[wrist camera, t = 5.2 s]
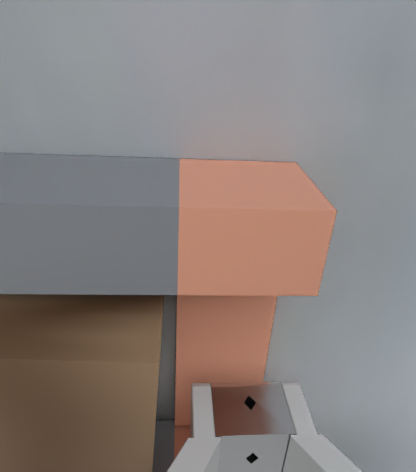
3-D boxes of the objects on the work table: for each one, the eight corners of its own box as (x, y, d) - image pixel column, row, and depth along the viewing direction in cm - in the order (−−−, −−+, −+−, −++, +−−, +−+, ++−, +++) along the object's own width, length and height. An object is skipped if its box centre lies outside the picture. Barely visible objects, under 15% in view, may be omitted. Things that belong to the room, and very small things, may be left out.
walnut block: (166, 260, 11) (159, 363, 8) (156, 399, 14) (148, 522, 11) (-12, 249, 11) (-104, 354, 7) (14, 396, 14) (-44, 523, 10)
